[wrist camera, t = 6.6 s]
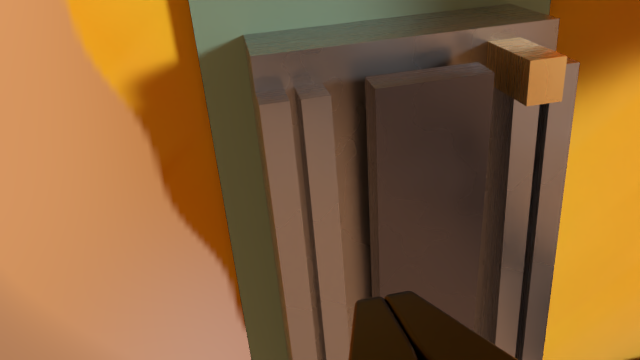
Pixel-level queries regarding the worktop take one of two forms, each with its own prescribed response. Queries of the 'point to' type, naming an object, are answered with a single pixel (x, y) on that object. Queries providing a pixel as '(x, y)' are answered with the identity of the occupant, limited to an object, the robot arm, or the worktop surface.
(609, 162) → the worktop surface
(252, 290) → the board
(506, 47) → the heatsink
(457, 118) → the dark brown flat bar
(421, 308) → the robot arm
